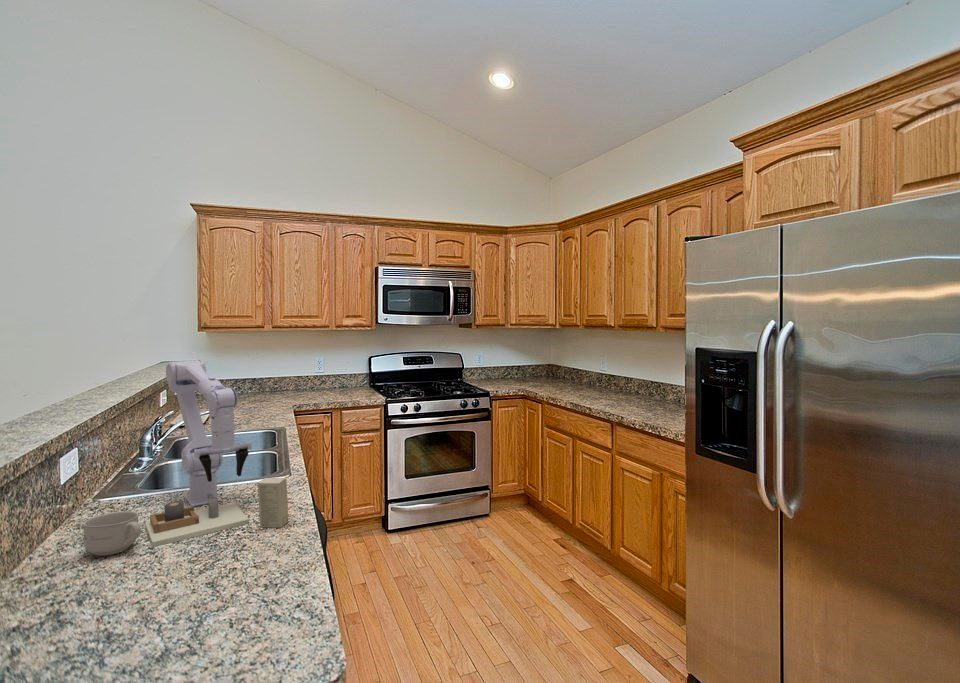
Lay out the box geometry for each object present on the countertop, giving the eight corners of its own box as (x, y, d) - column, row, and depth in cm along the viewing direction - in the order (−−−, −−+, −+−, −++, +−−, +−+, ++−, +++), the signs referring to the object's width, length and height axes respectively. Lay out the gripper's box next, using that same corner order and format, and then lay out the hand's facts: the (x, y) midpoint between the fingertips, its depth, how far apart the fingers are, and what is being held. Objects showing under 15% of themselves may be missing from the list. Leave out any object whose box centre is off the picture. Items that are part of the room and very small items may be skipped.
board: (145, 526, 135) (144, 503, 135) (234, 506, 149) (233, 485, 149) (152, 547, 123) (151, 522, 122) (248, 523, 137) (248, 501, 136)
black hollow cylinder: (164, 522, 135) (163, 503, 134) (183, 518, 137) (182, 499, 137) (165, 527, 131) (164, 508, 131) (185, 523, 134) (184, 504, 134)
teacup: (74, 554, 119) (73, 521, 119) (124, 536, 129) (123, 506, 128) (106, 568, 113) (105, 532, 112) (156, 548, 122) (155, 515, 122)
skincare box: (288, 521, 138) (287, 477, 137) (280, 528, 133) (279, 483, 133) (266, 520, 138) (265, 477, 138) (258, 527, 134) (257, 482, 133)
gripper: (196, 437, 136) (198, 487, 137) (253, 429, 145) (255, 476, 146) (192, 432, 141) (193, 480, 142) (247, 425, 151) (248, 470, 151)
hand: (224, 478), depth 144 cm, fingers open, 7 cm apart
